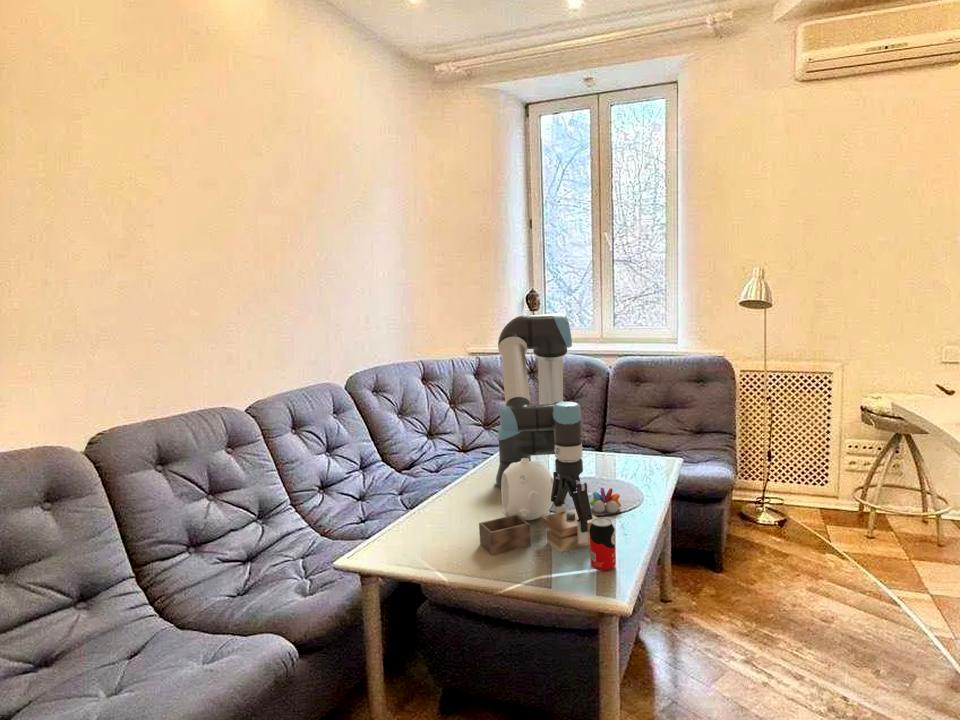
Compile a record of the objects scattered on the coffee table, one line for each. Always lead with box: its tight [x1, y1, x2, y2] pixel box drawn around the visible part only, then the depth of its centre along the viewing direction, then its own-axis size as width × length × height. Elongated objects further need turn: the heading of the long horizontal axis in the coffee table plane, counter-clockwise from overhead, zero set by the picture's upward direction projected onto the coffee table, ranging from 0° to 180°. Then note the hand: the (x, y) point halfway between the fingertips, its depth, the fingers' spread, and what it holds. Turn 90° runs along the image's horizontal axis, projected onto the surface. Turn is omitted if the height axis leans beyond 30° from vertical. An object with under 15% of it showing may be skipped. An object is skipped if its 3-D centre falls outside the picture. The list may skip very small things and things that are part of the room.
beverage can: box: [589, 517, 617, 572], centre depth 152 cm, size 6×6×12 cm
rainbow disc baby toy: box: [589, 487, 622, 514], centre depth 190 cm, size 8×10×7 cm
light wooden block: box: [546, 529, 590, 553], centre depth 166 cm, size 12×7×4 cm, turn 113°
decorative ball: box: [500, 458, 554, 521], centre depth 184 cm, size 20×17×20 cm
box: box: [478, 515, 532, 556], centre depth 166 cm, size 12×8×7 cm, turn 113°
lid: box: [541, 509, 598, 537], centre depth 165 cm, size 13×10×3 cm
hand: (571, 535), depth 166 cm, fingers closed on lid, 10 cm apart
